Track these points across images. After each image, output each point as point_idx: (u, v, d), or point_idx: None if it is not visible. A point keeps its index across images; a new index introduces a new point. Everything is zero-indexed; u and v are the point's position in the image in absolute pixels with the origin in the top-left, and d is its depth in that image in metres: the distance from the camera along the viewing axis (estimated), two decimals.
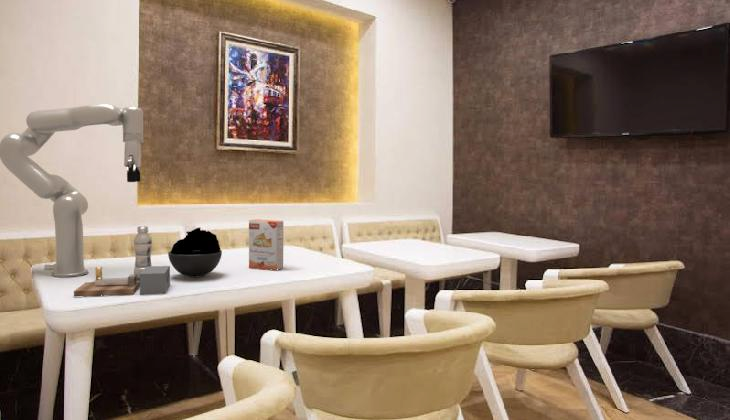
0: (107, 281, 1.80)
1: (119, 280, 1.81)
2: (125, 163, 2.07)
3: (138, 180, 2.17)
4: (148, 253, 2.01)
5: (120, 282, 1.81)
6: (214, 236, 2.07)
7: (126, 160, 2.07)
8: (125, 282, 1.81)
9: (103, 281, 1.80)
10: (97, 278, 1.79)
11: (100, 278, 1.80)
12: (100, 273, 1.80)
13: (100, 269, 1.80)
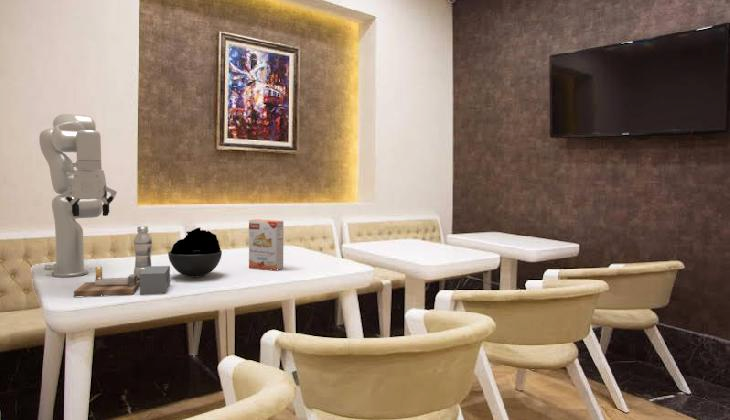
0: (107, 281, 1.80)
1: (119, 280, 1.81)
2: (102, 195, 1.82)
3: (78, 214, 1.84)
4: (148, 253, 2.01)
5: (120, 282, 1.81)
6: (214, 236, 2.07)
7: (103, 191, 1.82)
8: (125, 282, 1.81)
9: (103, 281, 1.80)
10: (97, 278, 1.79)
11: (100, 278, 1.80)
12: (100, 273, 1.80)
13: (100, 269, 1.80)
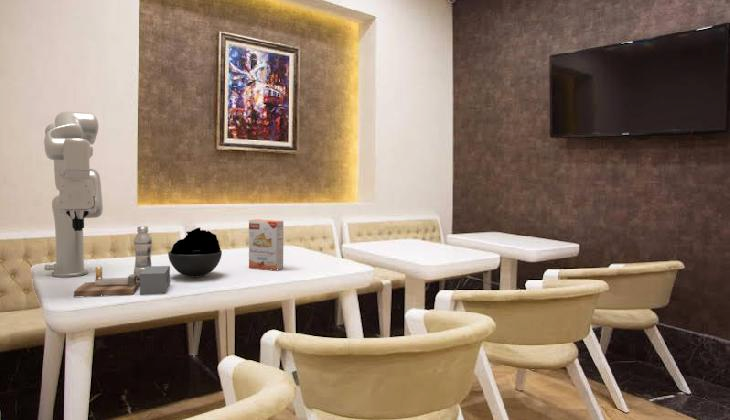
0: (107, 281, 1.80)
1: (119, 280, 1.81)
2: (92, 205, 1.76)
3: None
4: (148, 253, 2.01)
5: (120, 282, 1.81)
6: (214, 236, 2.07)
7: (92, 202, 1.77)
8: (125, 282, 1.81)
9: (103, 281, 1.80)
10: (97, 278, 1.79)
11: (100, 278, 1.80)
12: (100, 273, 1.80)
13: (100, 269, 1.80)
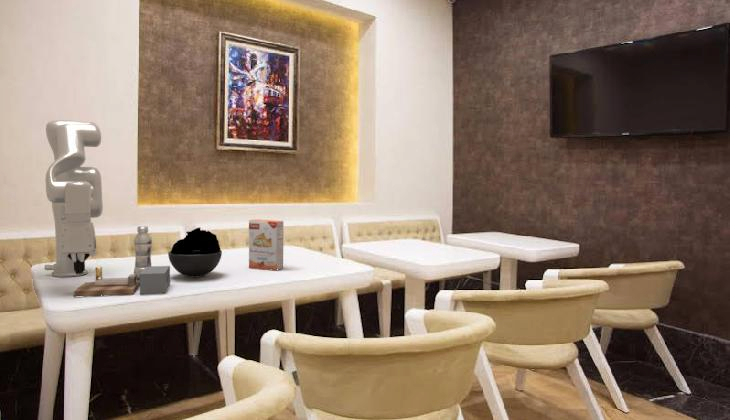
0: (107, 281, 1.80)
1: (119, 280, 1.81)
2: (93, 248, 1.77)
3: None
4: (148, 253, 2.01)
5: (120, 282, 1.81)
6: (214, 236, 2.07)
7: (93, 245, 1.78)
8: (125, 282, 1.81)
9: (103, 281, 1.80)
10: (97, 278, 1.79)
11: (100, 278, 1.80)
12: (100, 273, 1.80)
13: (100, 269, 1.80)
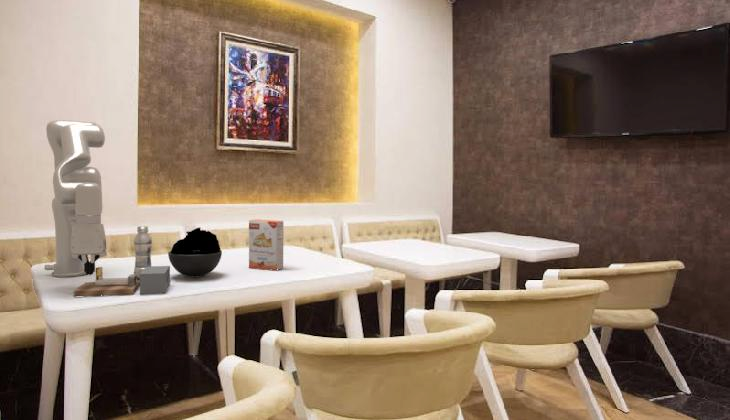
0: (107, 281, 1.80)
1: (119, 280, 1.81)
2: (103, 250, 1.78)
3: None
4: (148, 253, 2.01)
5: (120, 282, 1.81)
6: (214, 236, 2.07)
7: (104, 246, 1.78)
8: (125, 282, 1.81)
9: (103, 281, 1.80)
10: (97, 278, 1.80)
11: (100, 278, 1.80)
12: (100, 273, 1.80)
13: (100, 269, 1.80)
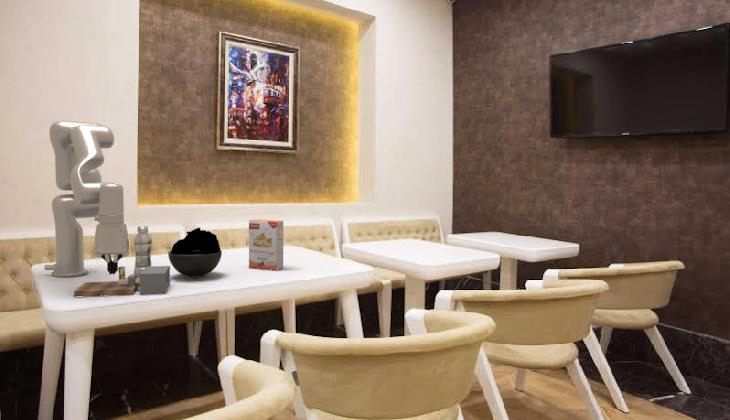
0: None
1: None
2: (126, 249, 1.80)
3: None
4: (148, 253, 2.01)
5: None
6: (214, 236, 2.07)
7: (127, 246, 1.80)
8: None
9: (126, 280, 1.82)
10: (120, 277, 1.81)
11: (123, 277, 1.82)
12: (123, 272, 1.82)
13: (123, 268, 1.82)
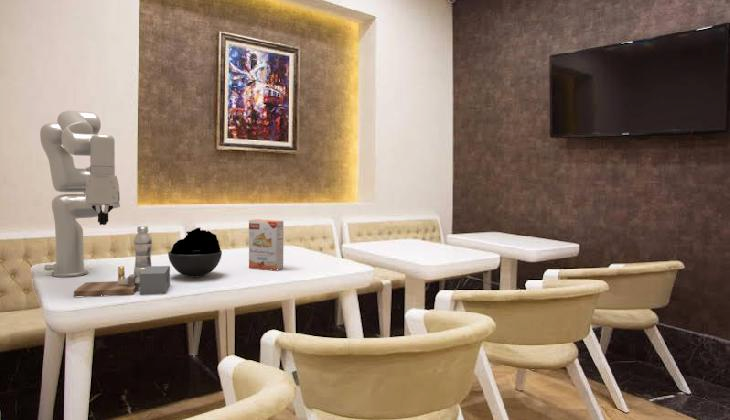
0: None
1: None
2: (116, 200, 1.82)
3: None
4: (148, 253, 2.01)
5: None
6: (214, 236, 2.07)
7: (117, 197, 1.82)
8: None
9: (125, 280, 1.81)
10: (120, 277, 1.81)
11: (122, 277, 1.82)
12: (122, 272, 1.82)
13: (122, 268, 1.81)
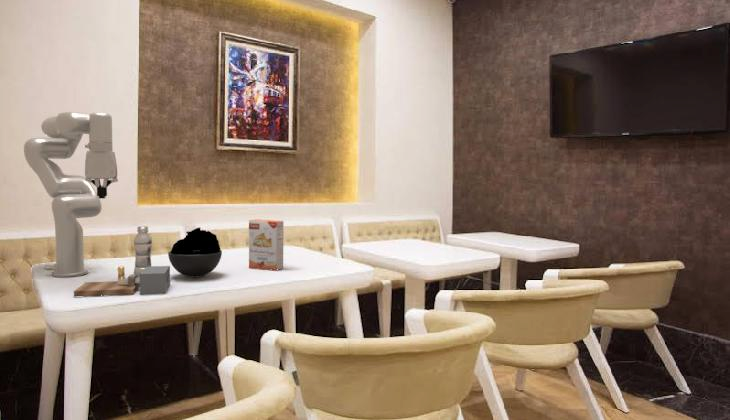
0: None
1: None
2: (114, 175, 1.92)
3: None
4: (148, 253, 2.01)
5: None
6: (214, 236, 2.07)
7: (115, 172, 1.92)
8: None
9: (125, 280, 1.81)
10: (120, 277, 1.81)
11: (122, 277, 1.82)
12: (122, 272, 1.82)
13: (122, 268, 1.81)
